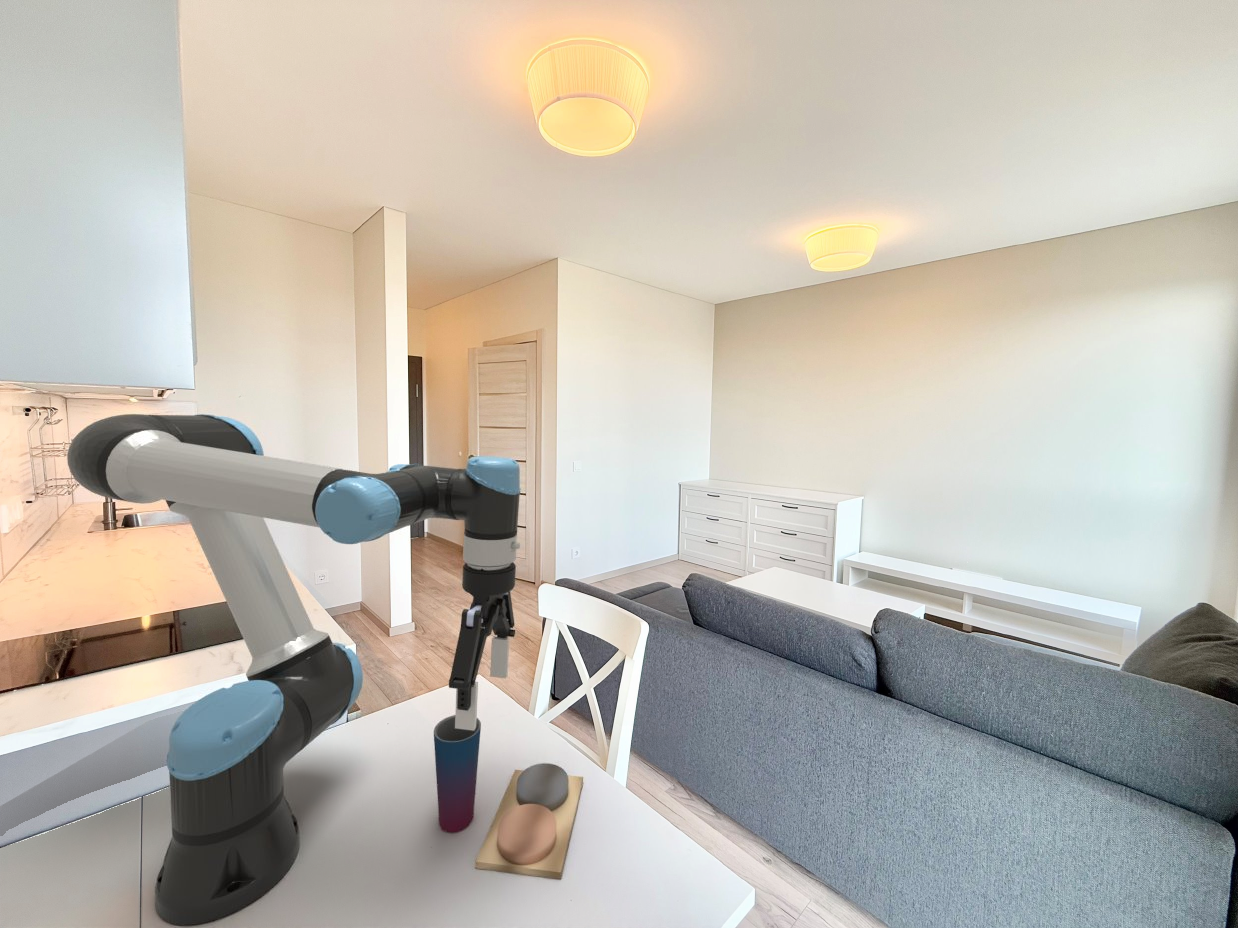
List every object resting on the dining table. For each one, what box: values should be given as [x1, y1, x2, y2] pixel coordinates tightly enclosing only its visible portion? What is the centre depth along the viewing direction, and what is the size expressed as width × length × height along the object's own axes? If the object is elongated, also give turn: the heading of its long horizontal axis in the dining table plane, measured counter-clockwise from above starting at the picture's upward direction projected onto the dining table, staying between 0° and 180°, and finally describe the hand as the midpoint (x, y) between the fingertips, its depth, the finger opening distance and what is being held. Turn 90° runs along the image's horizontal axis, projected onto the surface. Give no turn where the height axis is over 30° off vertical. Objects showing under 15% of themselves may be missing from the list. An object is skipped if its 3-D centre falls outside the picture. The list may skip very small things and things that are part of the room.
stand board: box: [474, 762, 584, 880], centre depth 76 cm, size 12×18×3 cm, turn 175°
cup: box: [433, 714, 482, 834], centre depth 75 cm, size 7×7×15 cm
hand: (483, 699), depth 74 cm, fingers open, 13 cm apart
